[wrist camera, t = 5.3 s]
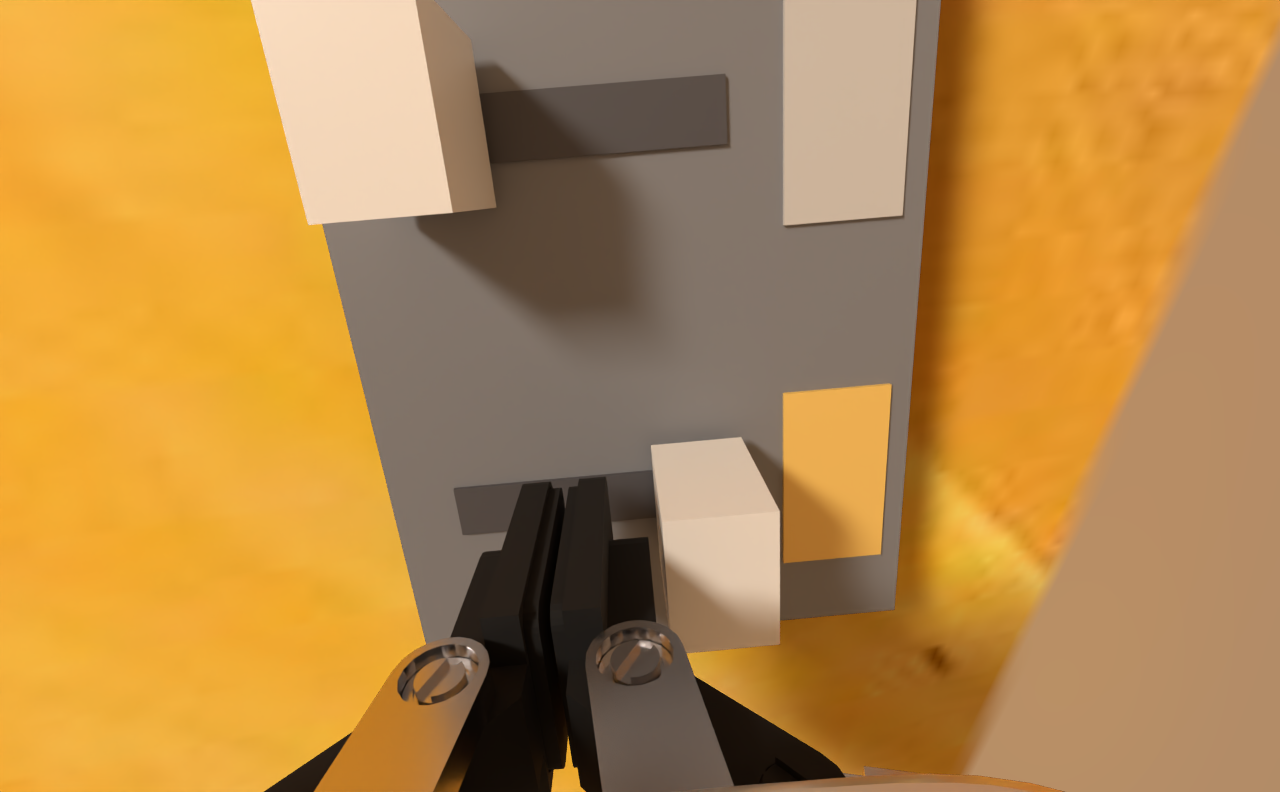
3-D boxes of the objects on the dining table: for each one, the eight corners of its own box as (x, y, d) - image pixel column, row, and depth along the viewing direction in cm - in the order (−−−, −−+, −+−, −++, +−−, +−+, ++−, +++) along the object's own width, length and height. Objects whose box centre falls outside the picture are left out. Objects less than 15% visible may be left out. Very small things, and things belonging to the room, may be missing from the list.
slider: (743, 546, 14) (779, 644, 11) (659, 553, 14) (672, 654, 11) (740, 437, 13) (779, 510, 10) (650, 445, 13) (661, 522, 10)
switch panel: (850, 544, 18) (896, 612, 15) (458, 580, 18) (427, 656, 15) (903, -654, 10) (1021, -1000, 7) (202, -608, 10) (30, -942, 7)
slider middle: (496, 207, 11) (452, 212, 8) (390, 216, 11) (308, 224, 8) (470, 40, 10) (410, -25, 7) (356, 49, 10) (247, -12, 7)
